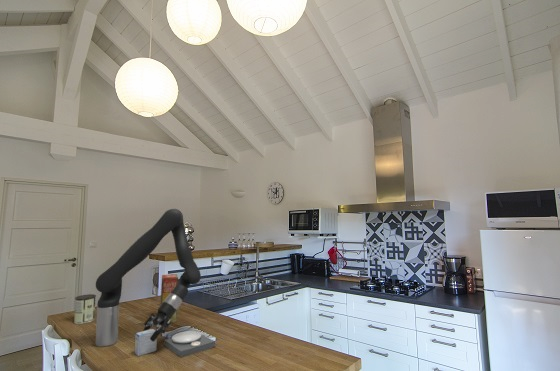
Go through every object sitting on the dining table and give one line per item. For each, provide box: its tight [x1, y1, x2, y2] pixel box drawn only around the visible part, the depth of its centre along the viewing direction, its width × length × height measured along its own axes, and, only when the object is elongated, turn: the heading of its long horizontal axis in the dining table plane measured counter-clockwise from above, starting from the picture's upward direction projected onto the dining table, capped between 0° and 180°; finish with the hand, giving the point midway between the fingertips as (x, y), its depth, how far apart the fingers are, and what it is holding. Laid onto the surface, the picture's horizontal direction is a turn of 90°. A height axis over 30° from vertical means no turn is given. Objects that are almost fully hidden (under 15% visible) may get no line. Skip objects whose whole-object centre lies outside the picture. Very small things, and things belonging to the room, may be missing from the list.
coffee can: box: [73, 293, 97, 325], centre depth 183 cm, size 10×10×14 cm
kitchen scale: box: [163, 330, 216, 358], centre depth 143 cm, size 18×16×4 cm
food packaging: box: [159, 273, 179, 323], centre depth 185 cm, size 13×9×25 cm
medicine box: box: [134, 328, 158, 357], centre depth 138 cm, size 8×4×9 cm, turn 134°
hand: (146, 338), depth 138 cm, fingers open, 8 cm apart
